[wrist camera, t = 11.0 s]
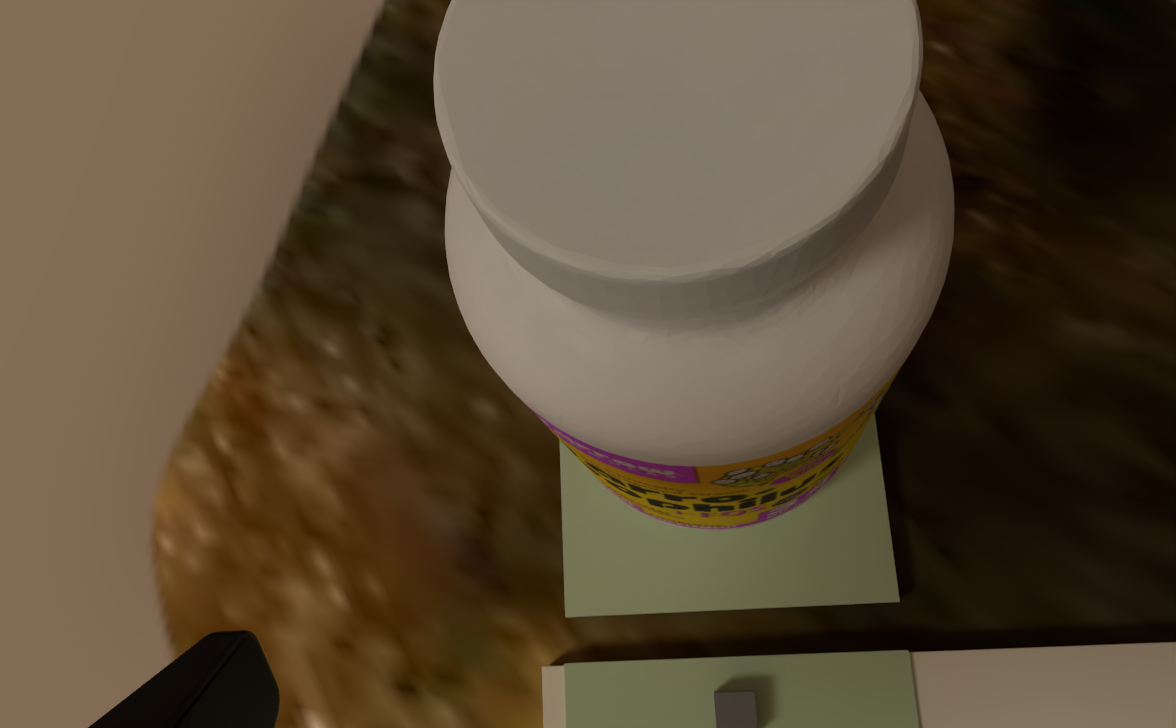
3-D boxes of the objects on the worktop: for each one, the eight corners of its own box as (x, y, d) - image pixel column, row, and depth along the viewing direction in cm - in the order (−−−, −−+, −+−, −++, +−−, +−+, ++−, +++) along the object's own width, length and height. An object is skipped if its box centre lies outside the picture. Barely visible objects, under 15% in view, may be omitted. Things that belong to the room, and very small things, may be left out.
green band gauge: (1391, 749, 17) (1436, 757, 16) (550, 767, 20) (537, 775, 18) (1223, 130, 21) (1251, 101, 20) (535, 208, 23) (524, 186, 22)
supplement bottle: (554, 522, 21) (266, 362, 8) (585, 247, 22) (382, -213, 10) (864, 550, 19) (1050, 409, 7) (871, 255, 21) (1032, -259, 9)
